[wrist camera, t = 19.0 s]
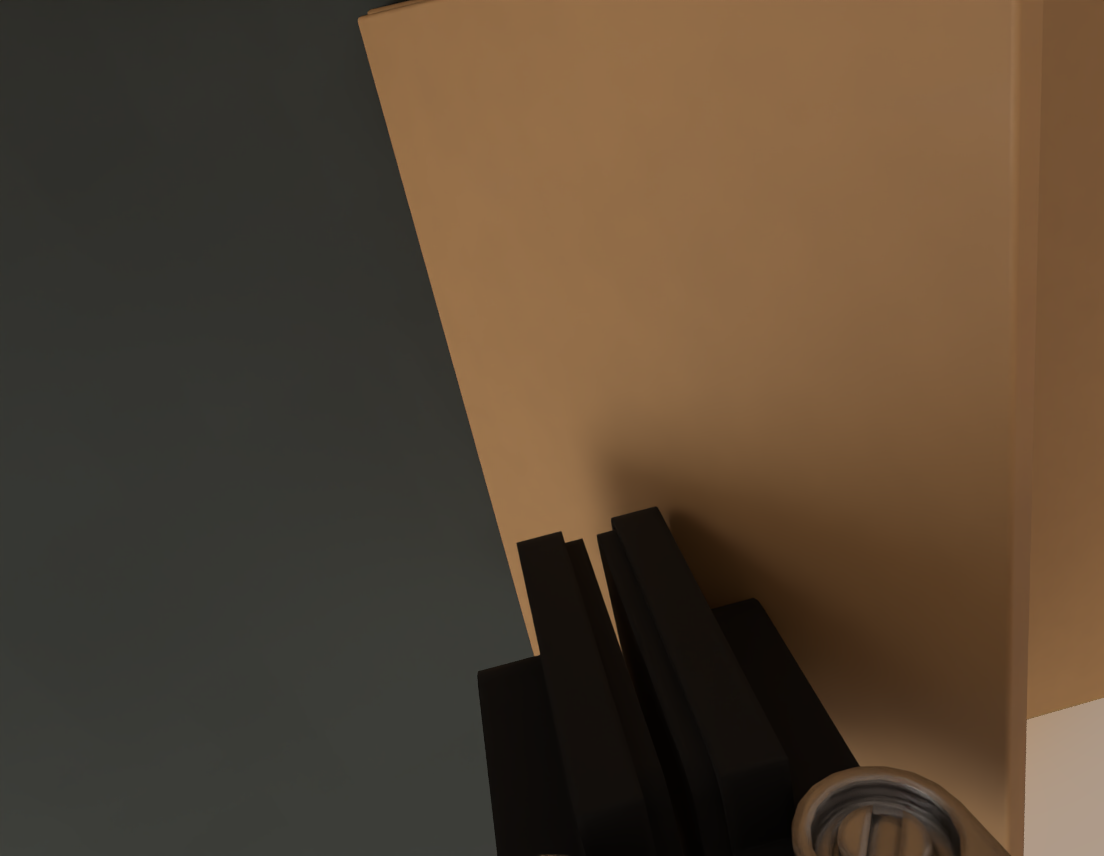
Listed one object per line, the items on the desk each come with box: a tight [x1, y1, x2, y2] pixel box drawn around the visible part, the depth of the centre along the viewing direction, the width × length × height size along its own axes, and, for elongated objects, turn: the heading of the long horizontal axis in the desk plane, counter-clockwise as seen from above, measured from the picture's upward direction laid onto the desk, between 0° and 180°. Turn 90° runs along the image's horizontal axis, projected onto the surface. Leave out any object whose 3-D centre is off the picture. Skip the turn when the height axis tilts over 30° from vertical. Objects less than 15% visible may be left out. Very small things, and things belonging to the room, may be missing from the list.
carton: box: [368, 0, 1104, 719], centre depth 18 cm, size 15×14×9 cm
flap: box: [358, 0, 1043, 856], centre depth 11 cm, size 7×14×1 cm
